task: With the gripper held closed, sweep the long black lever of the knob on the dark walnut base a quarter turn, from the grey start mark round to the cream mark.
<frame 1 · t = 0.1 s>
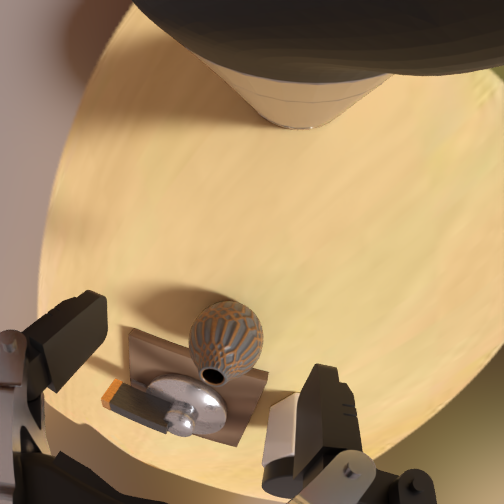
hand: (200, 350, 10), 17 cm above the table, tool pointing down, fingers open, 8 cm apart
jar: (302, 410, 34), on the table
vase: (234, 318, 30), on the table
knob: (164, 411, 31), point 4 cm above the table, hinge at 0.0°
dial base: (191, 394, 35), on the table
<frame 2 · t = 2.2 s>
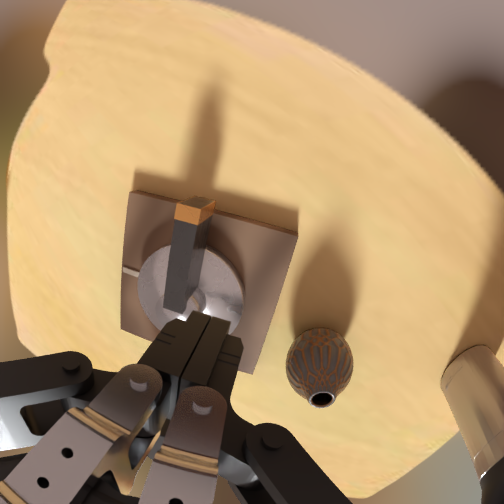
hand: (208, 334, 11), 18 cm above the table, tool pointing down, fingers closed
jar: (199, 385, 35), on the table
vase: (317, 343, 31), on the table
knob: (185, 284, 25), point 4 cm above the table, hinge at 0.0°
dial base: (196, 286, 30), on the table
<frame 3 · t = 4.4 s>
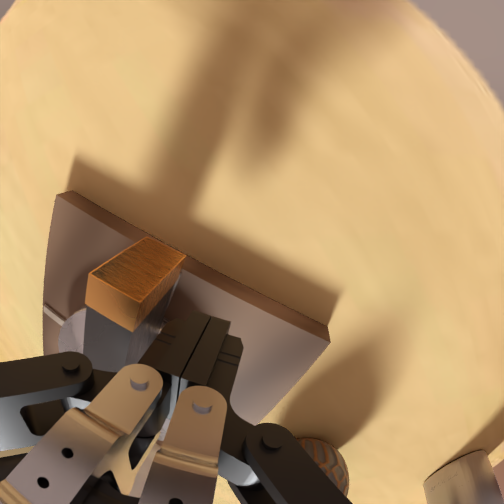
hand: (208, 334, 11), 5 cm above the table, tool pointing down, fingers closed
jar: (142, 449, 23), on the table
vase: (304, 447, 20), on the table
knob: (122, 381, 13), point 4 cm above the table, hinge at 2.8°, touching gripper
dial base: (147, 358, 18), on the table
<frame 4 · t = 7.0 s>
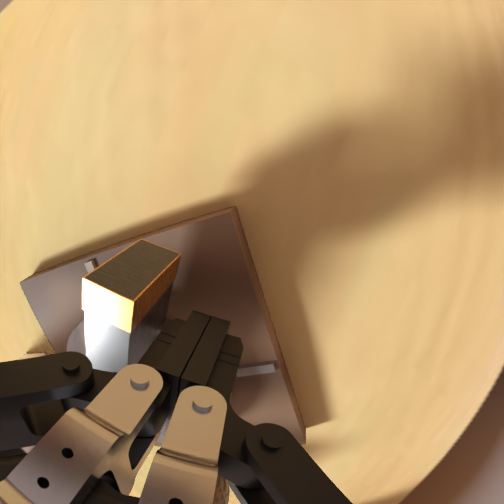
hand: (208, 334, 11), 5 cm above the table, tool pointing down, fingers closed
jar: (56, 382, 22), on the table
vase: (201, 464, 23), on the table
knob: (131, 386, 13), point 4 cm above the table, hinge at 55.1°, touching gripper
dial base: (157, 363, 18), on the table
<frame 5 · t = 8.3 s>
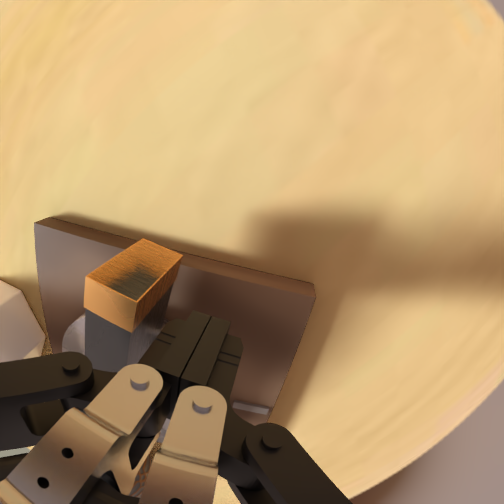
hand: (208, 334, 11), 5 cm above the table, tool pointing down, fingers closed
jar: (18, 318, 20), on the table
vase: (131, 442, 23), on the table
knob: (126, 384, 13), point 4 cm above the table, hinge at 81.1°, touching gripper
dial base: (151, 361, 18), on the table
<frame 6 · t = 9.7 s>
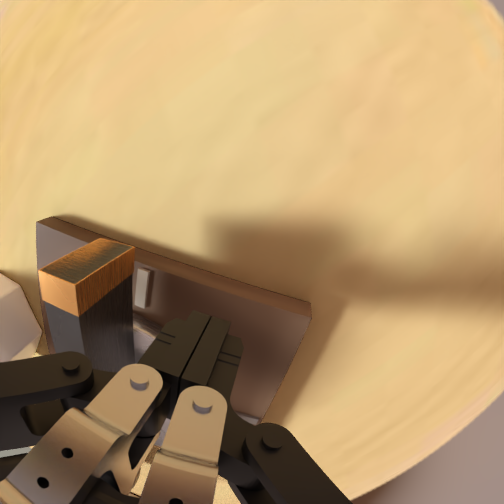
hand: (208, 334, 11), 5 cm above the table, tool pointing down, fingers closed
jar: (15, 311, 20), on the table
knob: (112, 384, 13), point 4 cm above the table, hinge at 94.6°
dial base: (146, 365, 18), on the table
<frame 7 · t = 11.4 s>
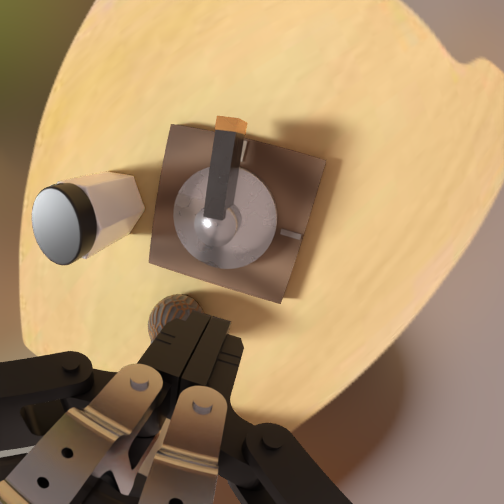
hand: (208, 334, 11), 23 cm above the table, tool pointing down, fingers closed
jar: (118, 202, 34), on the table
vase: (186, 308, 38), on the table
knob: (222, 199, 27), point 4 cm above the table, hinge at 94.6°
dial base: (229, 212, 32), on the table
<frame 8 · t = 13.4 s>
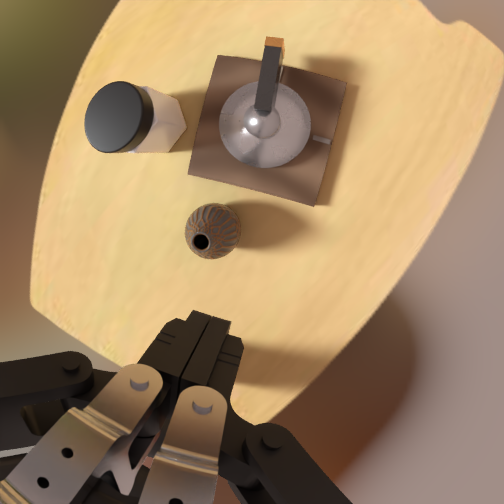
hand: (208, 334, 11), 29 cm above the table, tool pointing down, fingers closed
jar: (159, 124, 37), on the table
vase: (220, 224, 40), on the table
knob: (266, 103, 30), point 4 cm above the table, hinge at 94.6°
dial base: (266, 126, 35), on the table
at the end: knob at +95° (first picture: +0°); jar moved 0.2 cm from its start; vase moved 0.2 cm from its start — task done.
